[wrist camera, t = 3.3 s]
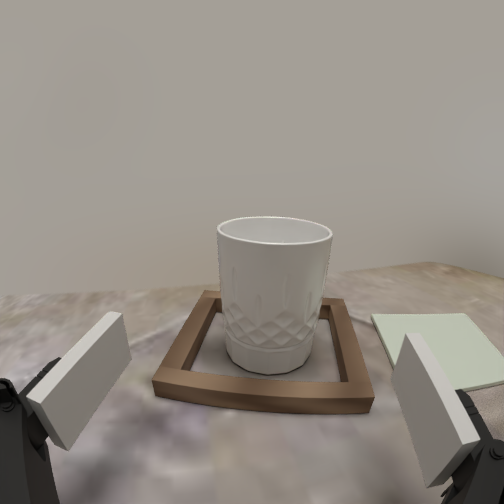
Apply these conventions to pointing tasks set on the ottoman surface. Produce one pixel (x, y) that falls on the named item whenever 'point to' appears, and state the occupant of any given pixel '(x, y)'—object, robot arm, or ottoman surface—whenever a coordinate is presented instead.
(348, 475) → the ottoman surface
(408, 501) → the ottoman surface
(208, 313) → the walnut collar
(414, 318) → the sage tile
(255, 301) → the white cup
